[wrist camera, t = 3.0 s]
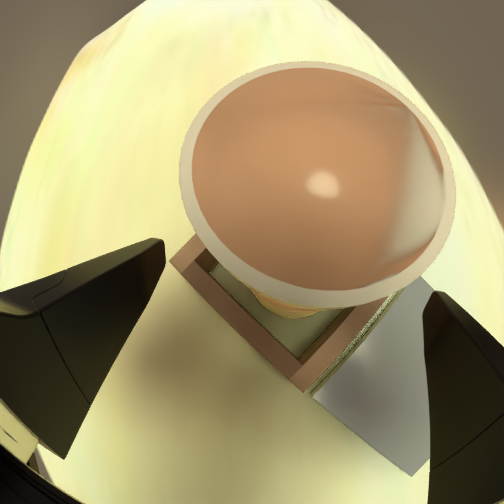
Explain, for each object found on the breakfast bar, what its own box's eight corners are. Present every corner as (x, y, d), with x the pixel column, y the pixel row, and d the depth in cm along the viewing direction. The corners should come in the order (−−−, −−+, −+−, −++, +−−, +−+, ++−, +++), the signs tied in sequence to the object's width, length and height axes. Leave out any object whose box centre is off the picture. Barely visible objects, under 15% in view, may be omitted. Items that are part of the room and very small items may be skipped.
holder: (298, 381, 17) (303, 392, 14) (187, 273, 19) (168, 260, 16) (398, 265, 18) (420, 251, 15) (289, 172, 21) (291, 143, 17)
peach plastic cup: (337, 331, 18) (452, 327, 5) (232, 311, 18) (141, 269, 6) (355, 200, 20) (428, 52, 7) (261, 183, 21) (239, 18, 8)
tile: (406, 471, 14) (411, 476, 13) (310, 393, 17) (311, 397, 16) (490, 361, 16) (498, 362, 15) (410, 275, 18) (416, 272, 17)
